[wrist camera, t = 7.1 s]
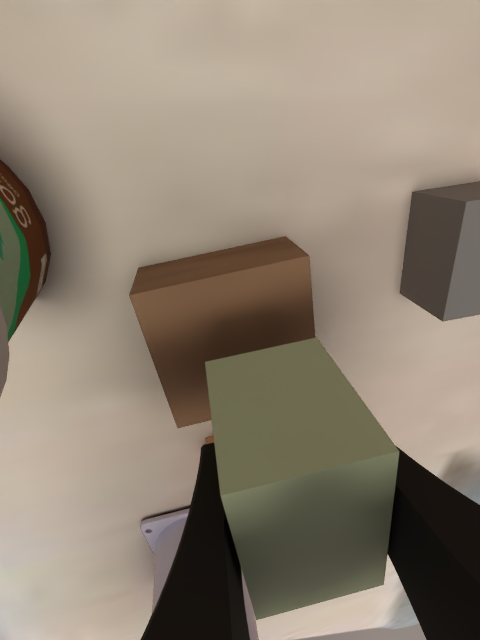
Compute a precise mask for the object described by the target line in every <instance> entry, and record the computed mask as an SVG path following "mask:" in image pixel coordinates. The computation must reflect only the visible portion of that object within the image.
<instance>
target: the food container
mask: <svg viewBox="0 0 480 640" xmlns="http://www.w3.org/2000/svg"><path fill="white" fill-rule="evenodd" d="M50 255H51V253H50V247H49V241H48V235H47V229H46V224H45V221H44V219H43V217H42V215H41V213H40V211H39V209H38V207H37V205H36V203H35V201H34V199H33V197H32V195H31V194H30V192H29V190H28V189H27V188H26V186H25V185H24V184H23V183H22V182H21V181H20V180H19V178H18V177H17V176H16V175H15V174H14V173H13V171H12V170H11V169H10V168H9V167H8V166H7V165H6V164H5V163H4V162H2V161H1V160H0V396H1V393H2V391H3V388H4V385H5V382H6V378H7V370H8V361H9V346H8V342H9V340H10V339H11V337H12V335H13V334H14V332H15V331H16V329H17V327H18V326H19V324H20V323H21V321H22V319H23V318H24V316H25V314H26V313H27V311H28V310H29V308H30V306H31V305H32V303H33V302H34V300H35V298H36V297H37V295H38V293H39V292H40V290H41V288H42V287H43V285H44V283H45V281H46V276H47V271H48V265H49V260H50Z"/></svg>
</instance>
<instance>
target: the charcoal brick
mask: <svg viewBox="0 0 480 640" xmlns="http://www.w3.org/2000/svg"><path fill="white" fill-rule="evenodd" d="M400 294H402V295H403V296H405V297H406V298H408V299H409V300H411V301H412V302H414V303H415V304H417V305H418V306H420V307H421V308H423V309H425V310H426V311H428V312H429V313H431V314H432V315H434V316H435V317H437V318H438V319H440V320H441V321H448V320H453V319H458V318H463V317H469V316H474V315H479V314H480V182H474V183H467V184H461V185H454V186H448V187H441V188H434V189H428V190H421V191H415V192H412V198H411V206H410V214H409V222H408V230H407V238H406V246H405V254H404V262H403V270H402V278H401V287H400Z"/></svg>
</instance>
